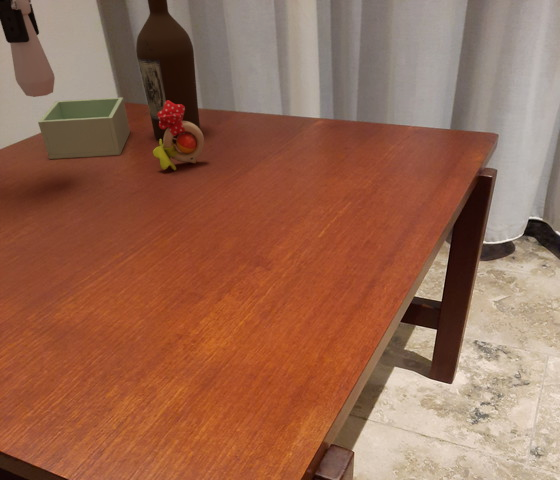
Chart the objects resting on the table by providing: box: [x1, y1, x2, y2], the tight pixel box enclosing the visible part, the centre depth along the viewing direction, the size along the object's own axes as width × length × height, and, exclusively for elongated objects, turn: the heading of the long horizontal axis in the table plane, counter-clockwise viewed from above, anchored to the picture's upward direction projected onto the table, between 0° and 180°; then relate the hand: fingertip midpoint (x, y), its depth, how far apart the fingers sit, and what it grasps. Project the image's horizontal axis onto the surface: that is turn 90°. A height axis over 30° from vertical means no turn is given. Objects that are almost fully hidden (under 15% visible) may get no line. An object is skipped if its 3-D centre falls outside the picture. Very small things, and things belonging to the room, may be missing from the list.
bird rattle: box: [152, 100, 205, 172], centre depth 98 cm, size 6×11×9 cm
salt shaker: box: [9, 0, 56, 98], centre depth 84 cm, size 6×6×13 cm
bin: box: [37, 96, 131, 160], centre depth 109 cm, size 14×14×7 cm
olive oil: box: [135, 0, 201, 143], centre depth 106 cm, size 11×11×25 cm
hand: (23, 37), depth 83 cm, fingers closed on salt shaker, 4 cm apart
